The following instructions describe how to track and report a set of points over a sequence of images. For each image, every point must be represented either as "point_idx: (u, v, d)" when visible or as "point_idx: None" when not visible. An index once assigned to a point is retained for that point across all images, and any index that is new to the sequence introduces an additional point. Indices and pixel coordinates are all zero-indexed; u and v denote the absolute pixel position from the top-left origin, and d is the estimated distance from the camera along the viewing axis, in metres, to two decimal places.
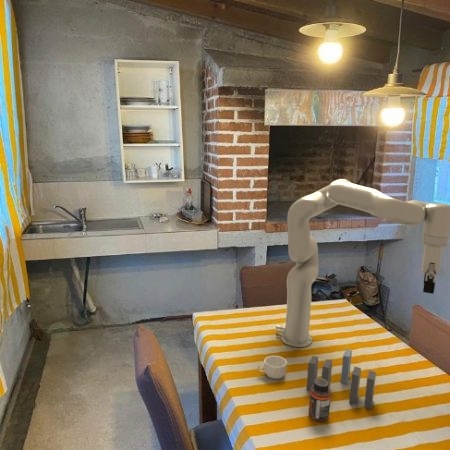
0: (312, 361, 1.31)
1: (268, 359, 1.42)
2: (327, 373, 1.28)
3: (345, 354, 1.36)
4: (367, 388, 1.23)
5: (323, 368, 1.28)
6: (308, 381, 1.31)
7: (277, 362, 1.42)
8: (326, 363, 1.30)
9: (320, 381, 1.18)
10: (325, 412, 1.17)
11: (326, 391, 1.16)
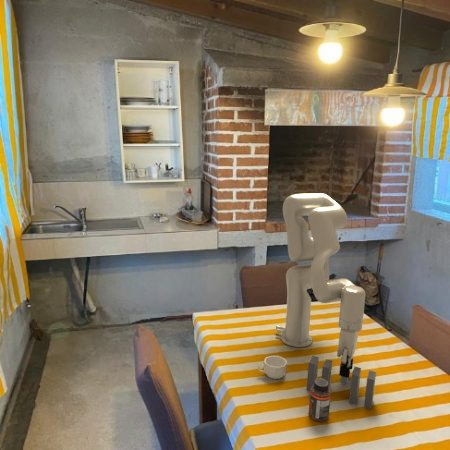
0: (312, 361, 1.31)
1: (268, 359, 1.42)
2: (327, 373, 1.28)
3: None
4: (367, 388, 1.23)
5: (323, 368, 1.28)
6: (308, 381, 1.31)
7: (277, 362, 1.42)
8: (326, 363, 1.30)
9: (320, 381, 1.18)
10: (325, 412, 1.17)
11: (326, 391, 1.16)
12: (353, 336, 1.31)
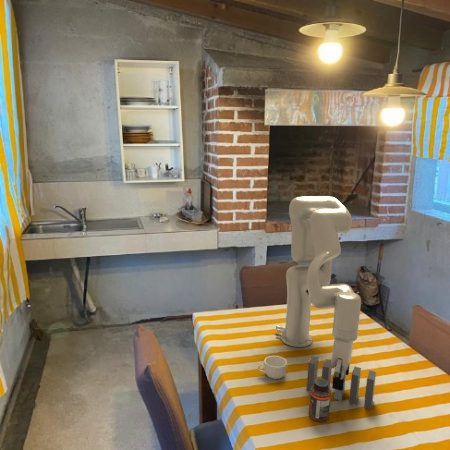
0: (312, 361, 1.31)
1: (268, 359, 1.42)
2: (327, 373, 1.28)
3: None
4: (367, 388, 1.23)
5: (323, 368, 1.28)
6: (308, 381, 1.31)
7: (277, 362, 1.42)
8: (326, 363, 1.30)
9: (320, 381, 1.18)
10: (325, 412, 1.17)
11: (326, 391, 1.16)
12: (348, 346, 1.22)
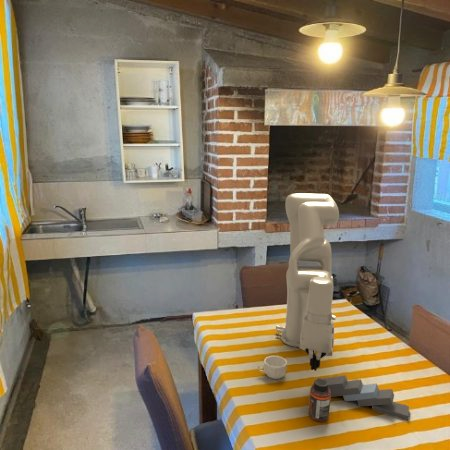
0: (344, 384, 1.27)
1: (268, 359, 1.42)
2: (353, 393, 1.25)
3: (375, 391, 1.23)
4: (395, 413, 1.20)
5: (356, 388, 1.24)
6: None
7: (277, 362, 1.42)
8: (360, 385, 1.26)
9: (320, 381, 1.18)
10: (325, 412, 1.17)
11: (326, 391, 1.16)
12: (304, 323, 1.29)
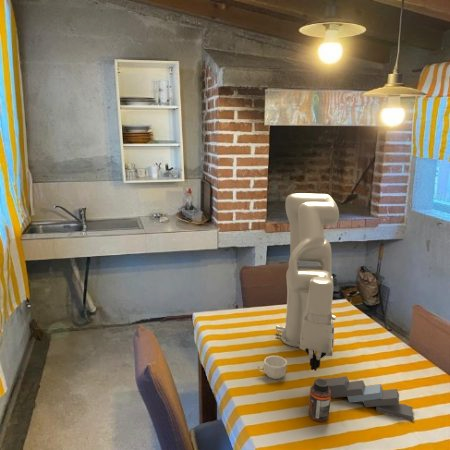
0: (346, 385, 1.27)
1: (268, 359, 1.42)
2: (356, 394, 1.25)
3: (380, 392, 1.23)
4: (400, 414, 1.20)
5: (359, 389, 1.24)
6: None
7: (277, 362, 1.42)
8: (363, 386, 1.26)
9: (320, 381, 1.18)
10: (326, 412, 1.17)
11: (326, 391, 1.16)
12: (304, 323, 1.29)
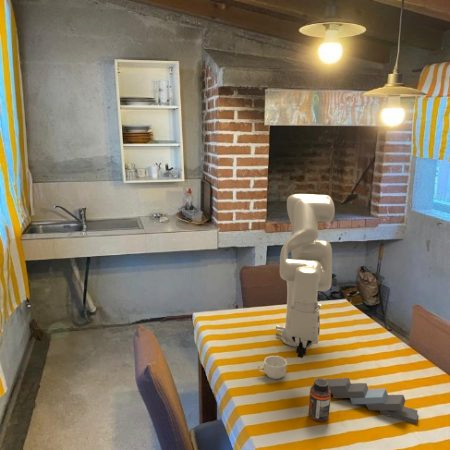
0: (347, 387, 1.27)
1: (268, 359, 1.42)
2: (358, 396, 1.24)
3: (383, 396, 1.21)
4: (404, 417, 1.19)
5: (361, 392, 1.24)
6: None
7: (277, 362, 1.42)
8: (365, 389, 1.25)
9: (320, 381, 1.18)
10: (325, 412, 1.17)
11: (326, 391, 1.16)
12: (290, 311, 1.31)
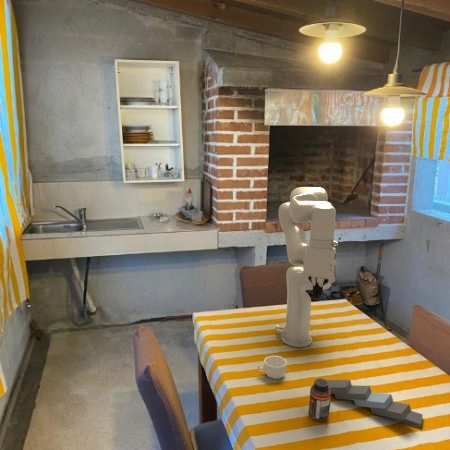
0: (347, 388, 1.26)
1: (268, 359, 1.42)
2: (360, 399, 1.23)
3: (386, 402, 1.19)
4: (408, 421, 1.17)
5: (363, 394, 1.23)
6: None
7: (277, 362, 1.42)
8: (367, 392, 1.24)
9: (320, 381, 1.18)
10: (326, 412, 1.17)
11: (326, 391, 1.16)
12: (307, 250, 1.32)
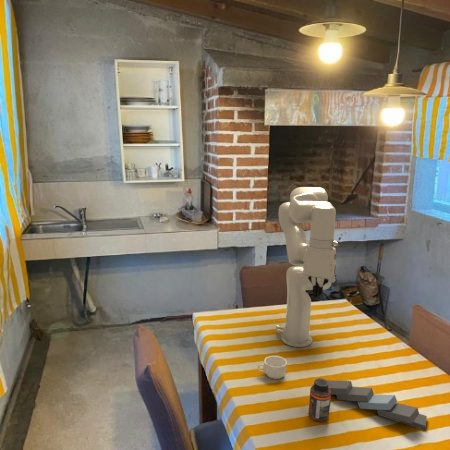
0: (348, 390, 1.26)
1: (268, 359, 1.42)
2: (361, 400, 1.23)
3: (389, 403, 1.18)
4: (412, 423, 1.17)
5: (364, 396, 1.22)
6: None
7: (277, 362, 1.42)
8: (369, 394, 1.24)
9: (320, 381, 1.18)
10: (326, 412, 1.17)
11: (326, 391, 1.16)
12: (307, 250, 1.32)
